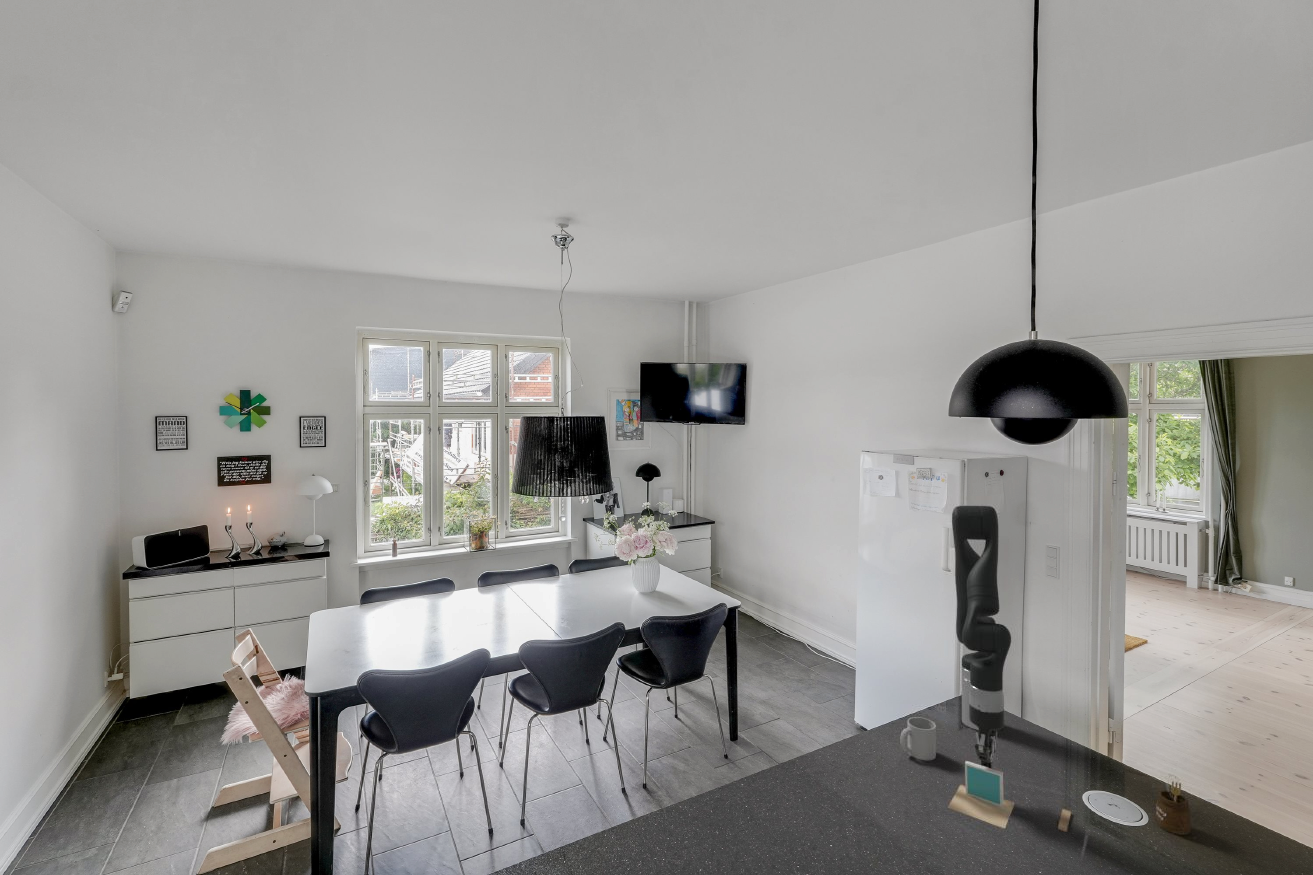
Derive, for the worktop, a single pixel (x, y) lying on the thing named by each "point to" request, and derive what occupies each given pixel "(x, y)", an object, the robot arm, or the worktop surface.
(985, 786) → the tile
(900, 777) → the worktop surface
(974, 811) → the board
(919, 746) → the cup
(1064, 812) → the tan tapered flat part
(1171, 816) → the utensil holder
